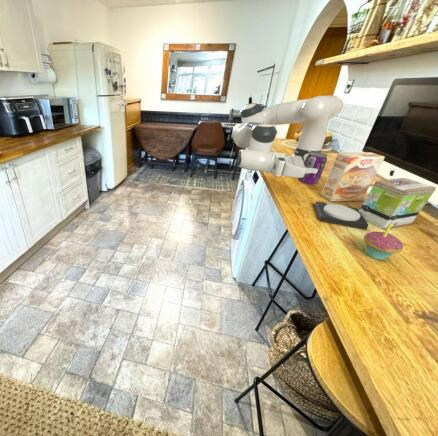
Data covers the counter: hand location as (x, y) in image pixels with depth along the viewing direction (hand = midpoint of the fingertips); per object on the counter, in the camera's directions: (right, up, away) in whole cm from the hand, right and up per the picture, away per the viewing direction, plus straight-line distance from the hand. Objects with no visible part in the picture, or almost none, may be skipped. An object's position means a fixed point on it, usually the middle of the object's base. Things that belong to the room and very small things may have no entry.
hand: (315, 168), depth 95 cm
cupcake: (+1, -31, -24) cm, 39 cm away
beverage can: (-1, -6, +4) cm, 7 cm away
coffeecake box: (+19, -11, +11) cm, 24 cm away
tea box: (+22, -21, -5) cm, 31 cm away
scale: (+6, -19, -4) cm, 21 cm away
